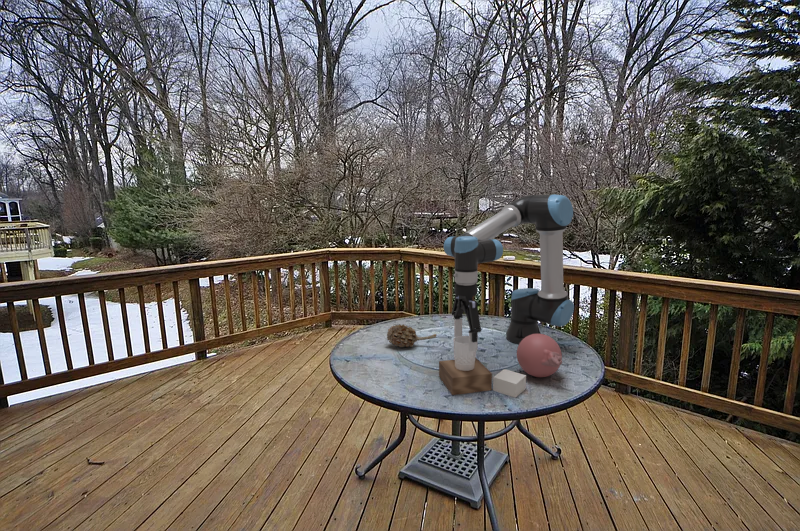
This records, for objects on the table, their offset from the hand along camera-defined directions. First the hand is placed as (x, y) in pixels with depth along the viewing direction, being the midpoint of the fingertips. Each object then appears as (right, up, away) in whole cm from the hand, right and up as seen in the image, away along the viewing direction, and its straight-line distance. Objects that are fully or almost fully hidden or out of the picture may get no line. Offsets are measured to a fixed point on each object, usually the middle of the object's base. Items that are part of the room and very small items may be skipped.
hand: (465, 343), depth 140 cm
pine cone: (-17, -9, +37) cm, 42 cm away
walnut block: (0, -14, +3) cm, 15 cm away
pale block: (+15, -15, -2) cm, 21 cm away
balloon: (+28, -14, +6) cm, 32 cm away
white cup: (0, -9, +2) cm, 9 cm away
